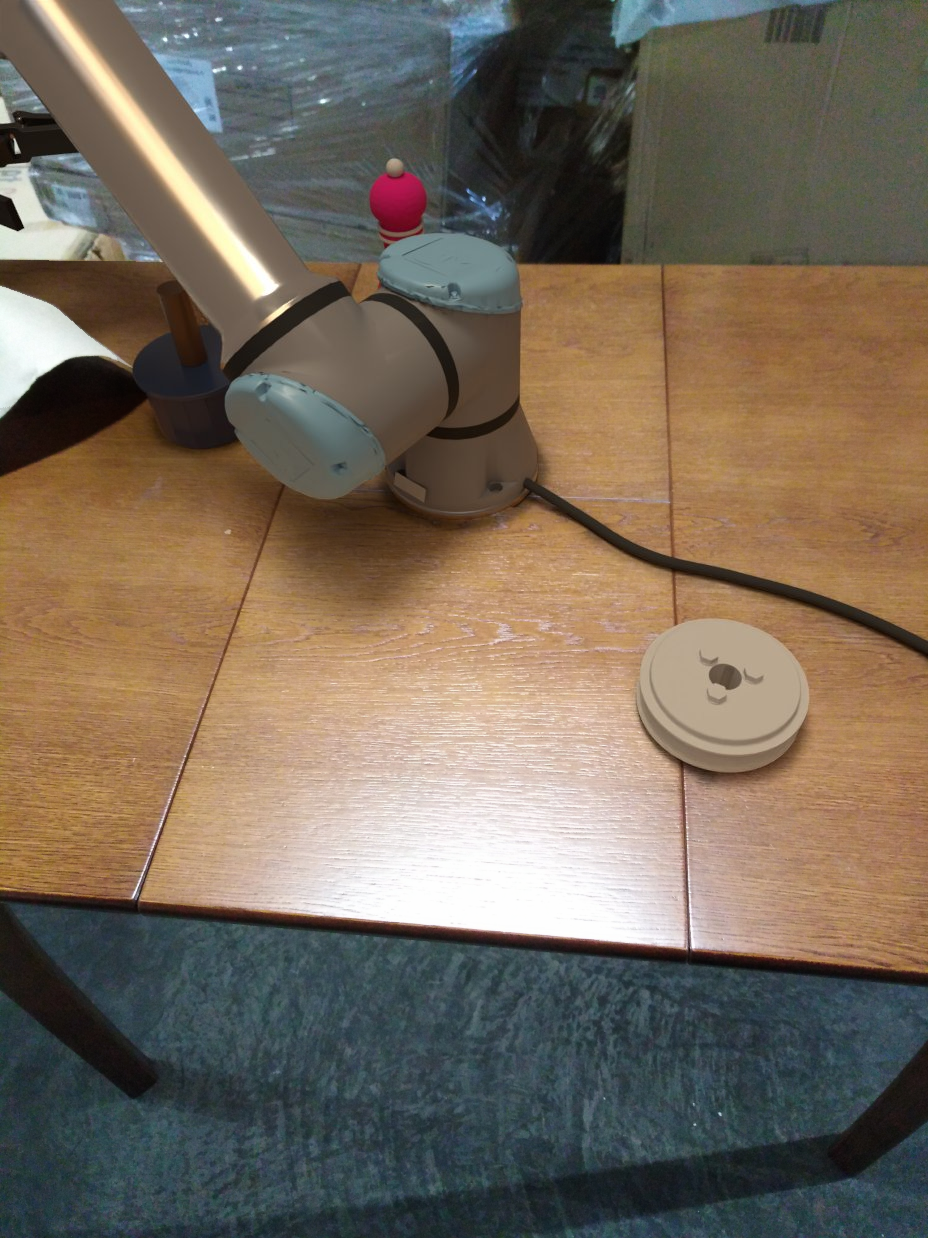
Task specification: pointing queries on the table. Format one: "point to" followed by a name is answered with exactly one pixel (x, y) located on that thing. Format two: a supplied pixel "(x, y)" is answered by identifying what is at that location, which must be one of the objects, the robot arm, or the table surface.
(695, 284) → the table surface
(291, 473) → the robot arm
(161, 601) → the table surface
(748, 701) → the beige round base
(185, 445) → the bowl
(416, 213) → the pepper mill
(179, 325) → the bowl lid
